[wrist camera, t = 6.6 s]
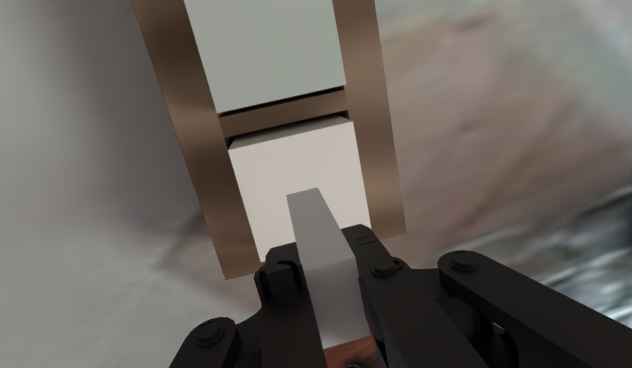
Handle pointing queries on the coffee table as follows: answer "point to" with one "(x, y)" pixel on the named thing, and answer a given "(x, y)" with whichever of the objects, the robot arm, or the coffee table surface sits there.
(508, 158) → the coffee table surface
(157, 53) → the frame
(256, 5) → the slate key
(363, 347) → the figurine
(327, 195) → the cream key
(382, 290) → the robot arm
